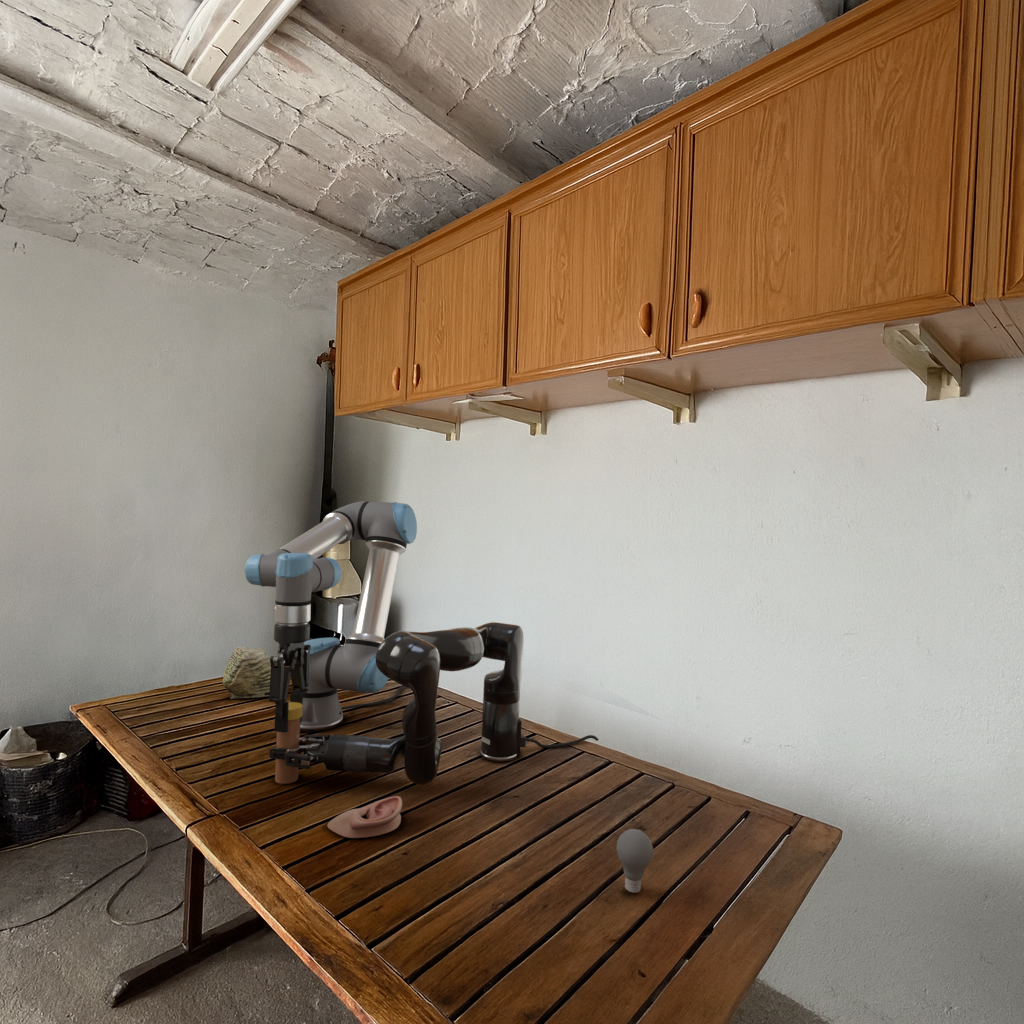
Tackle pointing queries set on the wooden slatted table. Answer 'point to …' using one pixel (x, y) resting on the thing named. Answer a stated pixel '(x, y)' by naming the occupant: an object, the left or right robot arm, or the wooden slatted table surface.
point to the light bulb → (634, 857)
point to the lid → (294, 710)
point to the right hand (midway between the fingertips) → (276, 748)
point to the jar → (288, 741)
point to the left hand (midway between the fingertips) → (288, 726)
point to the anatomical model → (369, 819)
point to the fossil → (248, 673)
